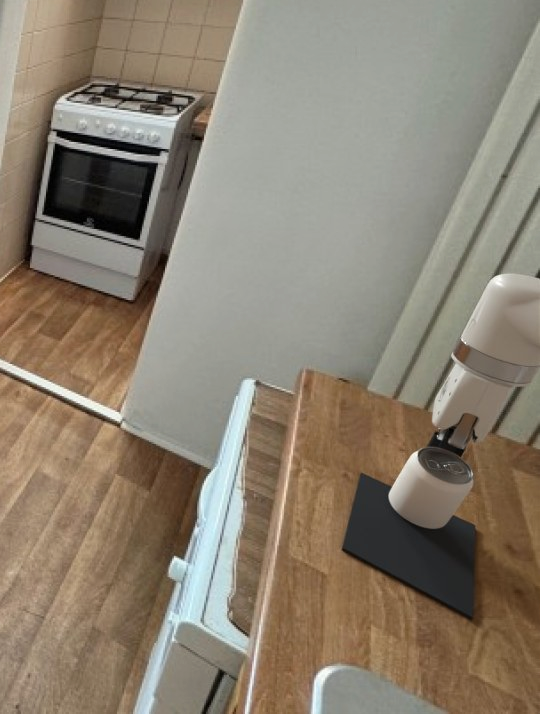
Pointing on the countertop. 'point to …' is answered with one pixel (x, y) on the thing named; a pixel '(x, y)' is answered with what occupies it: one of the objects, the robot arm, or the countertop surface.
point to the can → (431, 487)
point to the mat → (413, 548)
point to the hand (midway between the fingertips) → (439, 459)
